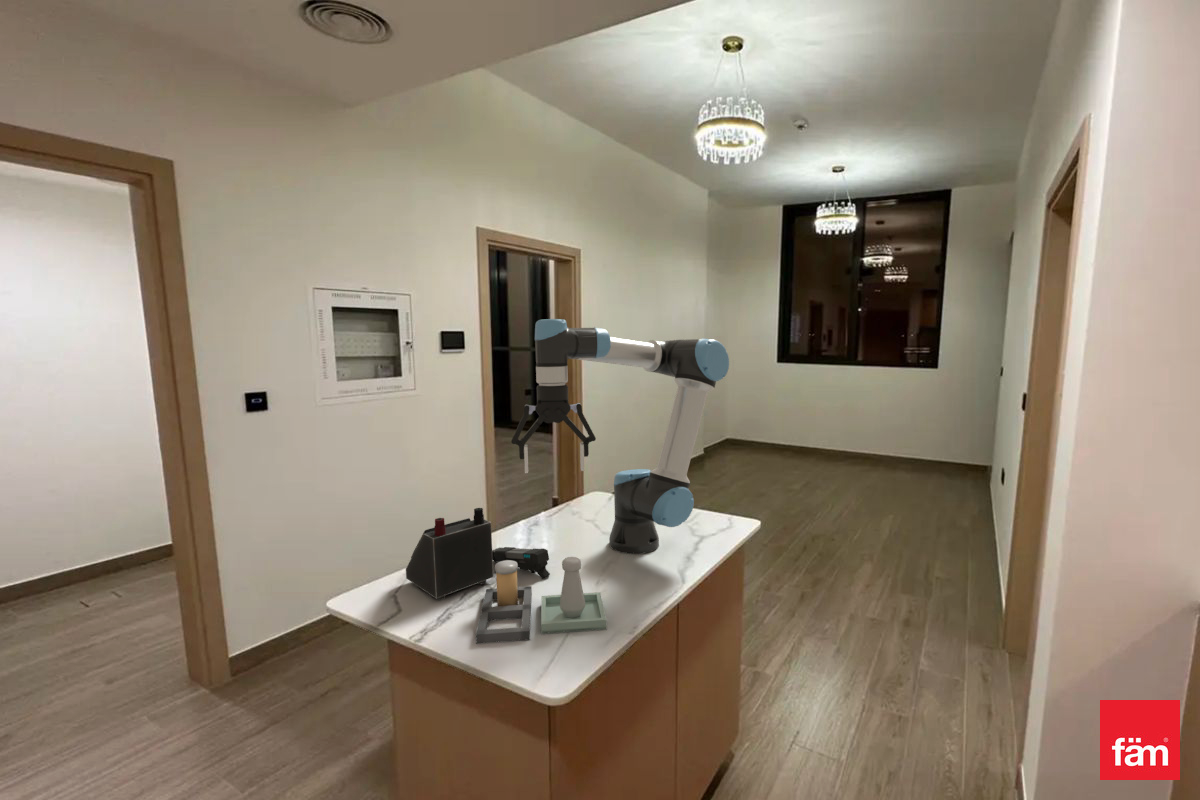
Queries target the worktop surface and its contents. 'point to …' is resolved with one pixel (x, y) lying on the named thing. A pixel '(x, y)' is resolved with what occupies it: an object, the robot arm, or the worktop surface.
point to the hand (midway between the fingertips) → (554, 471)
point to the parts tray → (558, 623)
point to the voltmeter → (452, 556)
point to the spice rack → (505, 607)
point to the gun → (524, 559)
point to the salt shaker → (572, 588)
